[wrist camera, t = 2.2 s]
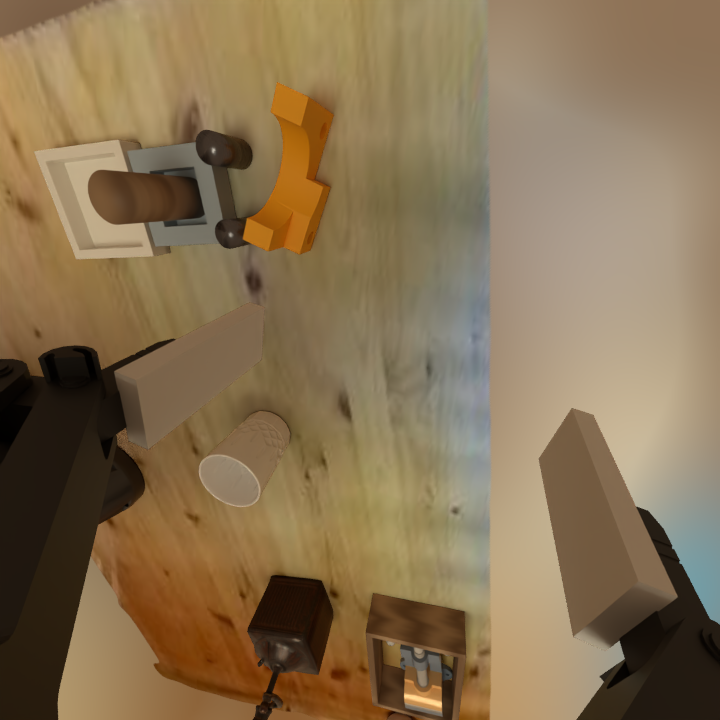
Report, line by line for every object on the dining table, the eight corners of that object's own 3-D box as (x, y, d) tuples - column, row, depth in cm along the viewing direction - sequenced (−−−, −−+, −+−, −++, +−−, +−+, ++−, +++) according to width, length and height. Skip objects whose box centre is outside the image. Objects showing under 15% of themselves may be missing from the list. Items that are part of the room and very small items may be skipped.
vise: (454, 676, 64) (455, 725, 58) (399, 665, 67) (394, 710, 61) (451, 617, 57) (451, 665, 51) (390, 607, 60) (383, 652, 54)
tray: (96, 256, 43) (76, 259, 40) (58, 154, 38) (33, 151, 36) (170, 252, 40) (153, 256, 38) (139, 143, 36) (118, 139, 33)
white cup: (291, 409, 46) (253, 459, 37) (298, 455, 49) (265, 511, 40) (238, 404, 48) (191, 450, 39) (248, 449, 51) (207, 501, 42)
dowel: (180, 219, 38) (99, 225, 29) (170, 178, 36) (80, 172, 27) (212, 217, 37) (138, 223, 28) (203, 175, 35) (120, 167, 26)
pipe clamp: (310, 250, 36) (285, 259, 31) (274, 232, 37) (242, 239, 31) (351, 123, 31) (330, 107, 25) (308, 103, 31) (277, 82, 25)
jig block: (171, 243, 40) (155, 246, 37) (146, 153, 36) (127, 151, 34) (240, 240, 38) (227, 243, 35) (221, 144, 34) (206, 140, 32)
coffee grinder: (267, 573, 64) (207, 698, 48) (322, 579, 60) (277, 714, 45) (290, 624, 70) (243, 750, 54) (341, 632, 66) (307, 769, 51)
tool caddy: (378, 665, 68) (372, 705, 63) (373, 593, 59) (365, 632, 53) (456, 685, 65) (457, 728, 59) (464, 611, 55) (466, 655, 50)
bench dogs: (245, 243, 38) (218, 249, 33) (225, 140, 34) (192, 131, 29) (266, 242, 37) (242, 247, 33) (249, 137, 33) (218, 128, 29)
